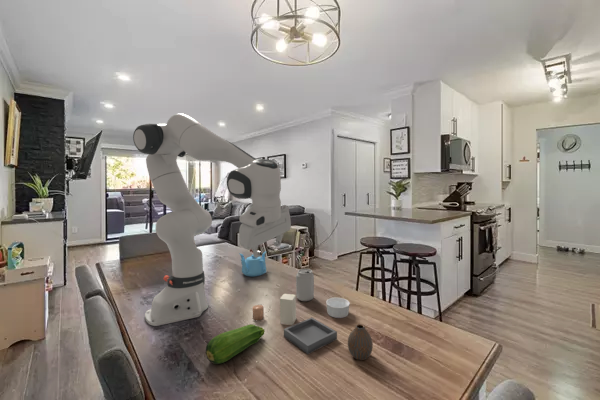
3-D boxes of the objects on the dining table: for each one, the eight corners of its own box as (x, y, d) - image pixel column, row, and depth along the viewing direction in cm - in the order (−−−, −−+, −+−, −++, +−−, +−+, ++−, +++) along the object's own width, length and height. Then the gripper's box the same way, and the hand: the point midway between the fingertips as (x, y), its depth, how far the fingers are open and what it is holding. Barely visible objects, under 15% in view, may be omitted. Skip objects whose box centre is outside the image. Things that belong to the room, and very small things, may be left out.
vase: (345, 349, 84) (345, 320, 83) (367, 348, 85) (368, 319, 84) (351, 364, 77) (351, 333, 77) (376, 363, 78) (376, 332, 77)
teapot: (268, 277, 147) (268, 257, 146) (239, 279, 144) (238, 259, 143) (266, 268, 161) (266, 250, 160) (239, 270, 158) (239, 252, 157)
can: (312, 302, 116) (312, 274, 115) (294, 301, 117) (294, 273, 116) (315, 295, 123) (315, 268, 122) (298, 294, 125) (298, 267, 124)
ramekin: (351, 309, 110) (351, 299, 109) (347, 320, 101) (347, 309, 101) (329, 306, 112) (329, 296, 112) (323, 317, 104) (323, 305, 104)
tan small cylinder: (256, 321, 101) (256, 310, 101) (250, 317, 104) (250, 307, 104) (265, 318, 103) (265, 307, 103) (260, 314, 106) (260, 303, 106)
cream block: (292, 325, 98) (292, 300, 98) (280, 323, 99) (279, 298, 99) (296, 318, 103) (295, 294, 102) (284, 317, 104) (284, 293, 103)
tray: (307, 354, 82) (307, 345, 82) (283, 336, 91) (283, 329, 91) (336, 339, 89) (336, 331, 89) (311, 324, 99) (311, 317, 99)
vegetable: (204, 335, 77) (259, 309, 92) (198, 353, 80) (253, 325, 95) (218, 356, 73) (274, 326, 88) (212, 375, 76) (266, 342, 91)
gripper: (281, 201, 99) (281, 237, 103) (234, 218, 83) (237, 259, 88) (295, 205, 95) (295, 242, 99) (249, 223, 80) (251, 266, 84)
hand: (267, 250), depth 93 cm, fingers open, 8 cm apart
